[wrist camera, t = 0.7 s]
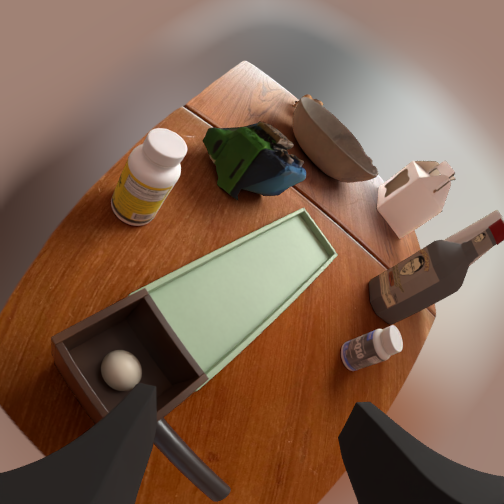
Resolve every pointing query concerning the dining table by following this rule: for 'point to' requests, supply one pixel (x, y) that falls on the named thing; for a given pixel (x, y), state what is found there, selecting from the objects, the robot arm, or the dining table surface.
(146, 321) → the brown rectangular box
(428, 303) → the liquor
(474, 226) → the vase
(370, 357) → the pill bottle
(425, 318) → the dining table surface
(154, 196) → the supplement bottle
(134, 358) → the ball
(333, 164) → the bowl
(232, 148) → the sculpture
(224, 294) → the tray
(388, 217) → the cardboard gift box
